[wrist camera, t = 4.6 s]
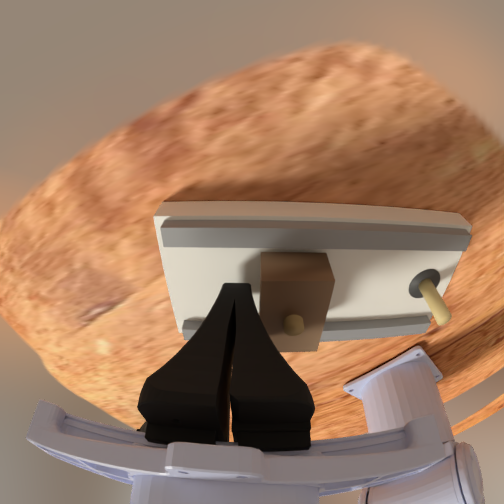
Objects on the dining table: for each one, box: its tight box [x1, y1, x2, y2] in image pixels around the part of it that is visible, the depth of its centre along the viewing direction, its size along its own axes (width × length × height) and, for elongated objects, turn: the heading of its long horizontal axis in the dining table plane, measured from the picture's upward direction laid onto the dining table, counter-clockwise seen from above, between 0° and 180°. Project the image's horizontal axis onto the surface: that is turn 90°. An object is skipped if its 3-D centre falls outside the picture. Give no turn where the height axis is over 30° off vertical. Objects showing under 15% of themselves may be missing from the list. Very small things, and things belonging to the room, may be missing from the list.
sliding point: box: [259, 252, 335, 352], centre depth 14 cm, size 3×5×2 cm, turn 0°
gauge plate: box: [153, 201, 472, 342], centre depth 14 cm, size 16×8×4 cm, turn 90°
